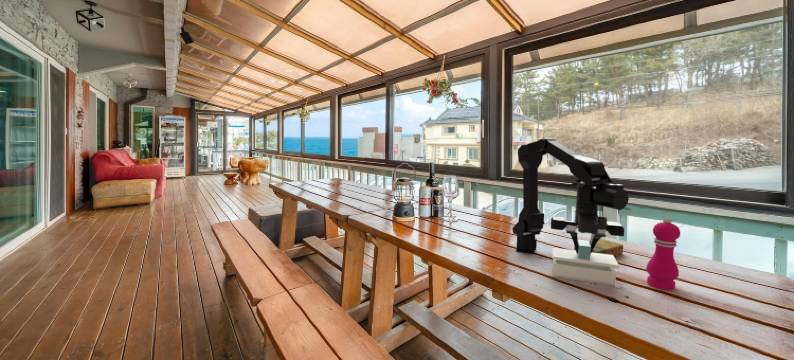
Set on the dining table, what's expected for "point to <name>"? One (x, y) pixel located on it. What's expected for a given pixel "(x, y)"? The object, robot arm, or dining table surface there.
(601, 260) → the lid
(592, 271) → the box base
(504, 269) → the dining table surface
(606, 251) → the carton
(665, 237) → the pepper mill
